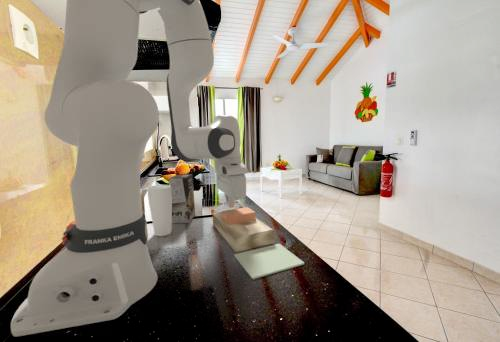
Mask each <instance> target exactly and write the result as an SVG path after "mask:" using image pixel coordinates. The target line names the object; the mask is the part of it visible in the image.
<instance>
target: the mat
mask: <svg viewBox="0 0 500 342" xmlns="http://www.w3.org/2000/svg"><path fill="white" fill-rule="evenodd" d="M233 255H234V258H235V259H236V261H238V263H239V264H240V265H241V267H242V268H243V270H245V272H246V273H247V274H248V276H249V277H250V278H251V280H256V279H259V278H262V277H267V276H269V275H272V274H276V273H279V272H282V271H286V270H287V271H288V270H290V269H293V268H296V267H300V266H303V265H305V262H304V261H303V260H302V259H300V257H298V256H296V255H295V254H294V253H293V252H292V251H289V250H288V249H287V248H286V247H284V245H282V244H281V243H276V244H270V245H266V246H262V247H258V248H256V249H255V248H254V249H249V250H245V251H241V252H237V253H234V254H233Z"/></svg>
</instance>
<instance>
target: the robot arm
mask: <svg viewBox="0 0 500 342" xmlns="http://www.w3.org/2000/svg"><path fill="white" fill-rule="evenodd" d="M65 9H66V10H65V23H64V34H63V35H64V37H63V43H62V49H61V51H60V52H61V54H60V57H59V59H58V63H57V67H56V70H55V75H54V79H53V84H52V88H51V93H50V96H49V97H50V98H49V100H48V104H47V105H46V108H45V111H44V122H45V123H44V124H45V125H46V127H47V129H48V130H49V131H50V133H51V134H52V135H53V136H55V137H56V138H57V139H59V140H61V141H62V142H64V143H67V144H69V145H71V146H75V147H77V154H76V155H77V156H76V164H75V170H74V175H73V176H72V179H71V181H70V193H71V202H72V208H73V216H74V220H73V221H71V222H69V224H68V225H67V226H66V227H65V231H64V232H63V234H62V237H61V243H62V244H61V245H64V246H65V248H63V249H62V250H61V251H60V252H59V253H58V254H56V255H55V256H54V257H53V258H52V259H51V260H49V261H48V262H47V263H46V264H44V266H43V267H42V268H40V269H39V271H38V272H37V274H36V275H35V276H34V277H33V279H32V281H31V283H30V286H29V290H28V294H27V298H25V299H24V301H23V302H22V303H21V304H20V305H19V306H18V307H17V308H18V309H16V311H15V312H14V315H12V316H13V317H12V319H11V321H10V333H11V335H12V336H13V337H22V336H27V335H28V336H29V335H35V334H39V333H40V334H41V333H44V332H50V331H51V332H52V331H55V330H61V329H62V330H63V329H66V328H72V327H79V326H85V325H90V324H94V323H101V322H106V321H112V320H115V319H117V318H119V317H120V316H122V315H123V314H124V313H125V312H126V311H127V310H128V309H129V308H130V307H131V306H132V305H133V304H135V303H136V302H138V301H139V300H141V299H142V298H143V297H145V296H147V294H149V293H150V292H151V291H152V290H153V289H154V287H155V286H156V284H157V282H158V273H157V272H156V270H155V267H154V265H153V262H152V259H151V256H150V251H149V248H148V238H149V237H148V236H149V234H148V223H147V219H146V215H145V213H143V203H142V190H141V170H142V168H141V167H142V164H143V158H144V155H145V150H146V147H147V144H148V142H149V140H150V139H151V137H152V136H153V135H154V134H155V132H156V130H157V128H158V125H159V121H160V112H159V111H160V110H159V107H158V105H157V102H156V99H155V98H154V96H153V95H152V93H150V91H149V90H148V89H147V88H146V87H145V86H143V85H141V84H140V83H137V82H135V81H132V80H127V79H128V77H129V75H130V73H131V72H132V70H133V69H134V67H135V66H136V63H137V60H138V47H139V34H140V33H139V29H140V15H142V14H145V13H147V12H148V11H152V10H153V11H154V10H156V9H158V10H157V13H158V14H159V16H160V17H161V19H162V21H163V26H164V33H165V38H166V40H165V41H166V44H167V49H168V55H169V71H168V74H167V76H166V77H167V78H166V92H167V93H166V94H167V95H166V96H167V103H168V104H167V105H168V111H169V118H170V128H171V130H170V131H171V136H170V137H171V138H170V145H171V149H172V152H173V153H174V155H175V156H176V157H177V158H178V159H180V160H182V161H194V160H214V172H215V173H216V178H215V181H216V189H218V190H219V191H221V192H222V193H224V198H225V201H226V206H227V207H229V208H231V209H232V208H234V207H235V201H239V200H245V198H246V196H247V177H246V175H247V173H248V168H247V166H246V165H245V164H244V162H243V160H242V154H241V130H240V126H239V122H238V119H237V118H236V117H234V116H232V115H225V114H224V115H216V116H214V119H213V121H212V122H211V123H210V124H208V125H206V126H199V127H193V125H192V124H191V123H192V122H191V111H190V100H189V99H190V95H191V92H193V90H194V89H195V87H196V86H197V85H199V84H200V83H201V82H203V81H205V79H206V78H207V77H208V76H209V75H210V73H212V70H213V67H214V63H215V59H214V57H215V56H214V55H215V54H214V48H213V43H212V38H211V33H210V29H209V24H208V21H207V18H206V14H205V11H204V9H203V6H202V4H201V1H200V0H66V8H65Z"/></svg>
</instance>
